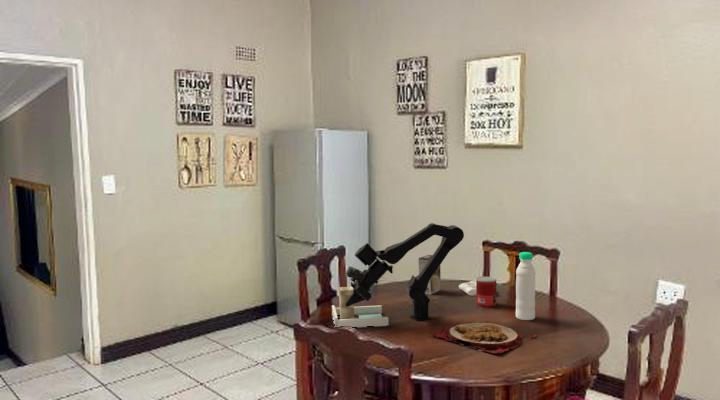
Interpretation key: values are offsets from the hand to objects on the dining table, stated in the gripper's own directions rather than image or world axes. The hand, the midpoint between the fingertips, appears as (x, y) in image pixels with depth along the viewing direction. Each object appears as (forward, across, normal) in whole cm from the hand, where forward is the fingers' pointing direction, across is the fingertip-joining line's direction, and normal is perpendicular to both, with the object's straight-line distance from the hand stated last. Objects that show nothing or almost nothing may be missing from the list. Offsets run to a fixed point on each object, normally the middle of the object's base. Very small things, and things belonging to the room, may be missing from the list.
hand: (345, 303), depth 201 cm
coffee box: (-25, -36, +35) cm, 56 cm away
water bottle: (-43, +8, +53) cm, 68 cm away
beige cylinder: (+4, 0, +5) cm, 7 cm away
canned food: (-37, -11, +47) cm, 61 cm away
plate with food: (-26, +25, +37) cm, 52 cm away
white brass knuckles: (-40, -32, +50) cm, 71 cm away
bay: (+1, 0, +8) cm, 8 cm away
